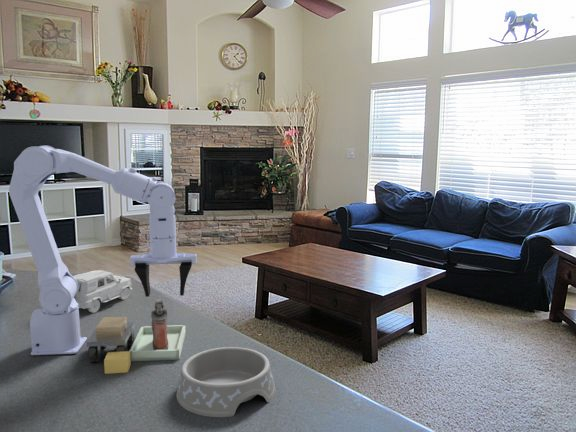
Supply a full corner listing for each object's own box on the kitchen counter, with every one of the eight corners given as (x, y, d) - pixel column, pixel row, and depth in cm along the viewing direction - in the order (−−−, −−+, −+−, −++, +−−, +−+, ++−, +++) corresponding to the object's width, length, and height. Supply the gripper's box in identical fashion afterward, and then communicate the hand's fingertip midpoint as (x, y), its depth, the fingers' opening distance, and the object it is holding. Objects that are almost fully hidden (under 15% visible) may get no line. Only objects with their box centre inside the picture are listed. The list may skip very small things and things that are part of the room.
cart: (87, 365, 102) (85, 333, 101) (101, 343, 113) (99, 314, 112) (125, 363, 103) (123, 332, 102) (135, 341, 114) (134, 313, 113)
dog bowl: (160, 387, 94) (159, 360, 93) (243, 361, 105) (243, 336, 104) (204, 429, 80) (203, 398, 80) (293, 394, 91) (294, 367, 91)
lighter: (152, 339, 114) (150, 297, 112) (167, 337, 114) (165, 295, 113) (153, 354, 106) (151, 308, 104) (169, 352, 107) (167, 307, 105)
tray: (129, 361, 104) (128, 352, 103) (141, 334, 118) (141, 326, 117) (179, 359, 105) (179, 350, 104) (185, 332, 119) (185, 324, 118)
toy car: (137, 296, 146) (136, 263, 144) (84, 319, 128) (82, 281, 126) (110, 292, 150) (108, 259, 148) (55, 313, 132) (52, 276, 130)
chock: (104, 374, 99) (104, 360, 98) (108, 366, 102) (107, 352, 102) (127, 373, 99) (127, 358, 99) (130, 364, 103) (130, 351, 102)
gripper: (125, 240, 107) (128, 301, 109) (194, 239, 109) (196, 299, 111) (132, 234, 114) (135, 291, 116) (196, 233, 116) (198, 289, 118)
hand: (165, 294), depth 114 cm, fingers open, 7 cm apart
